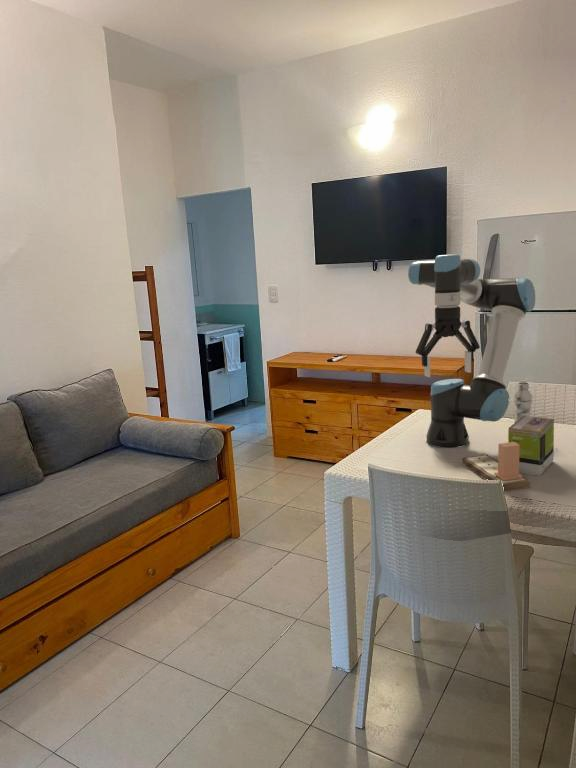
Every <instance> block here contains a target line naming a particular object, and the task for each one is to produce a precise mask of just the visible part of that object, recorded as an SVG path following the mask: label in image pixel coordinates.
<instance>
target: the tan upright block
mask: <svg viewBox="0 0 576 768" xmlns="http://www.w3.org/2000/svg"><path fill="white" fill-rule="evenodd" d="M497 447H498V452H497V461H498V472H495V475H496V476H498V477H499V478H501V479H502V480H510V479H517V478H522V476H523V475H522V474H521V473H520V472H519V448H520V445H519V444H517V443H515V442H509V443H508V442H502V443H498V445H497Z"/></svg>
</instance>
